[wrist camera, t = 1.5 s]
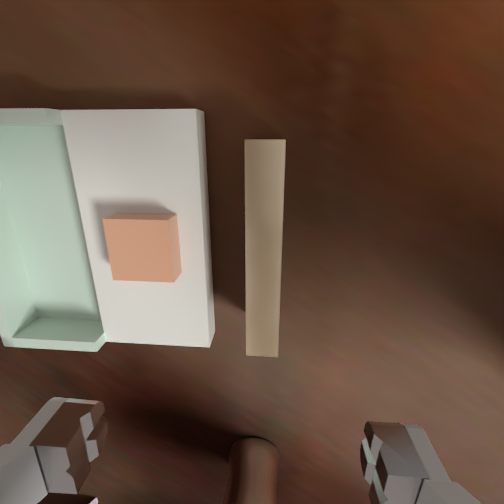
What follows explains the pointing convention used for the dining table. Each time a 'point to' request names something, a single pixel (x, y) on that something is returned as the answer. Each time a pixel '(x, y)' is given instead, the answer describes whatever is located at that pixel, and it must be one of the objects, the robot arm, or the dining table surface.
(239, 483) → the beer glass
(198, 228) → the plate
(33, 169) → the box
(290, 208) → the dining table surface
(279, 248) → the bar
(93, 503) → the lily
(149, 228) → the terracotta tile
